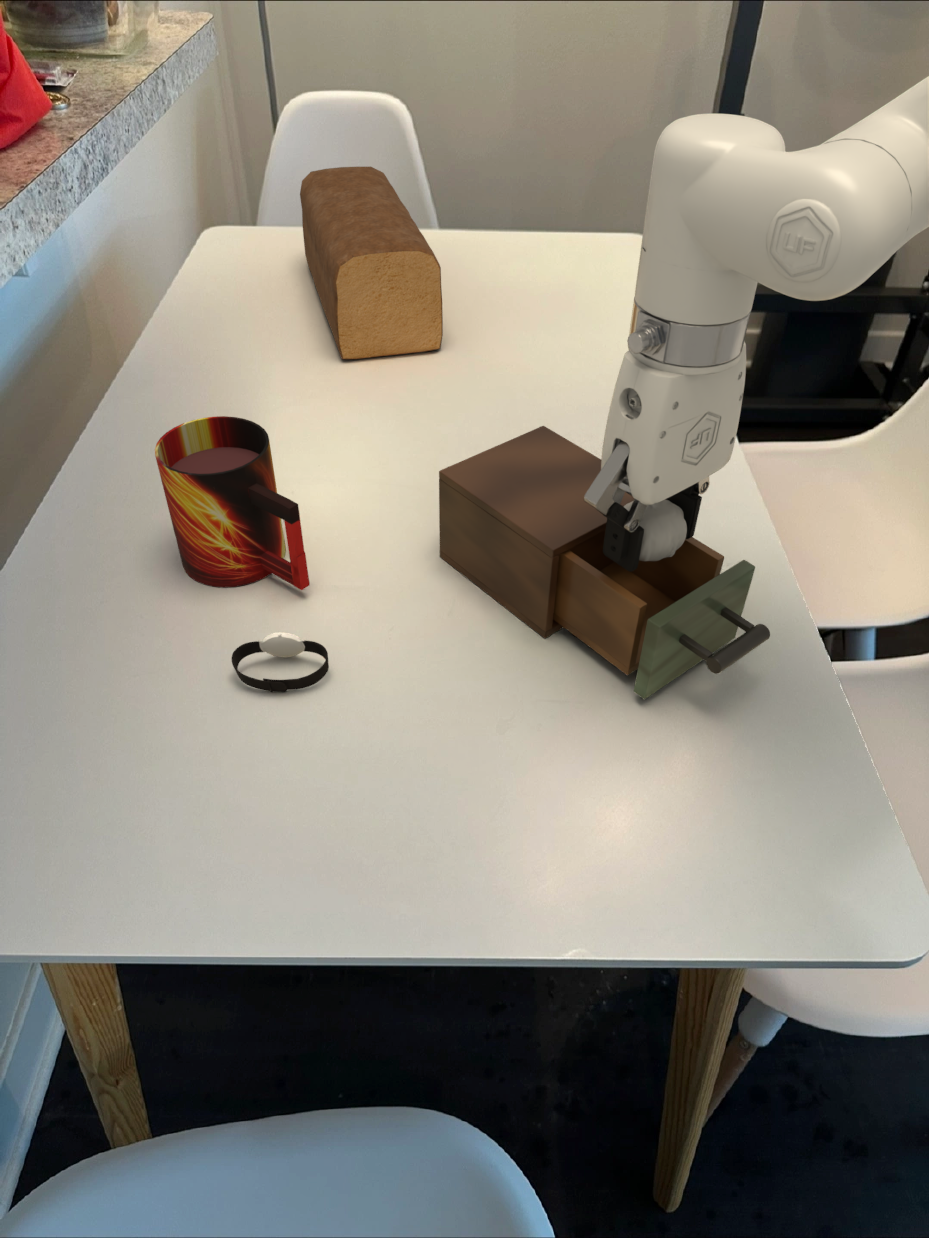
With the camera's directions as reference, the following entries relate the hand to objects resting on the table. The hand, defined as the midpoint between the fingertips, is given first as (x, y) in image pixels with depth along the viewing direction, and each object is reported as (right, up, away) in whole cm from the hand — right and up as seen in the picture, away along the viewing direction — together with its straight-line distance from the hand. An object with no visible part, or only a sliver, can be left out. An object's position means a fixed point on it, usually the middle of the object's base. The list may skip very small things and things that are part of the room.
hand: (648, 544), depth 72 cm
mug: (-34, 0, +14) cm, 37 cm away
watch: (-29, -11, +3) cm, 31 cm away
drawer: (+1, -8, +5) cm, 9 cm away
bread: (-28, +38, +57) cm, 74 cm away
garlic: (0, -1, +1) cm, 1 cm away
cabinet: (-7, -1, +13) cm, 15 cm away
